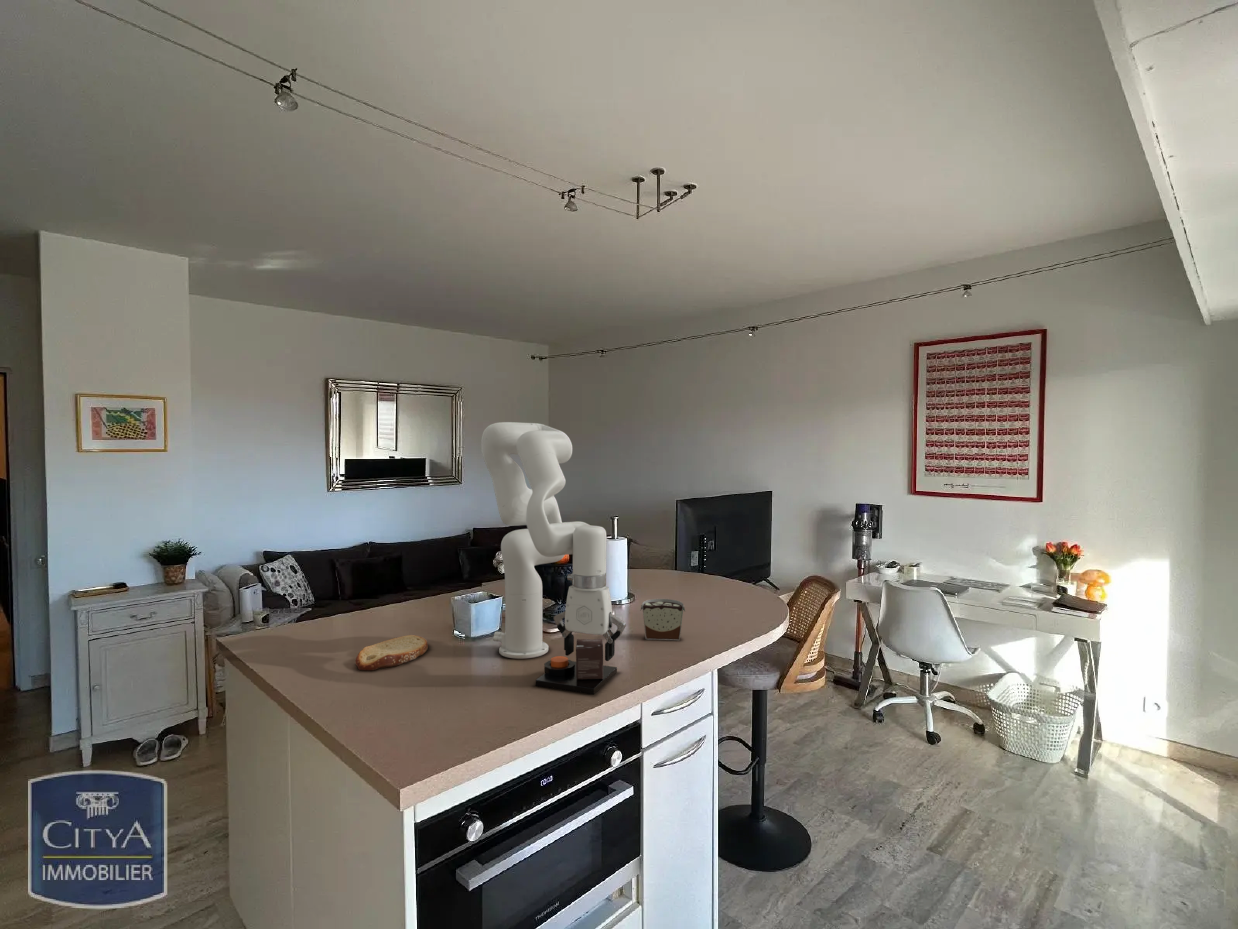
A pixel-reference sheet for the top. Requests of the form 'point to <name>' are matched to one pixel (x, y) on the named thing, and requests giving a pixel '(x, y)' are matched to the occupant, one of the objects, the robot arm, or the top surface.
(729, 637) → the top surface
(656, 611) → the food container
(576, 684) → the scale
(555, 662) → the button
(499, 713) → the top surface
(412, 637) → the slice of bread
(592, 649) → the box
